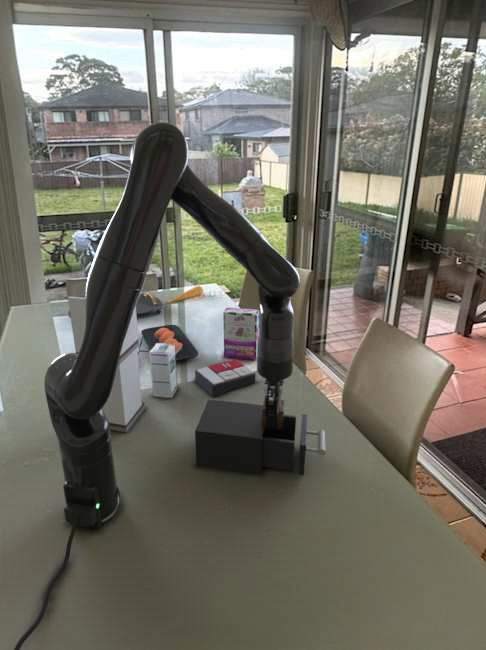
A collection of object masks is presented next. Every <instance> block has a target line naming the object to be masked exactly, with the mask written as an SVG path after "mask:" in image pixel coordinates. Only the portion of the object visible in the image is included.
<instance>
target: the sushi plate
mask: <svg viewBox="0 0 486 650" xmlns="http://www.w3.org/2000/svg"><path fill="white" fill-rule="evenodd" d="M141 336H142V337H141V340H140V342H139V351H138V352H137V353H138V355H140V353H149V352H150V351H151V349H152V348H153V347H154V346H155V345H156V343H167V344H173V345H175V358H176V362H179V361H184V360H188V359H189V360H190V359H193V358H196V357H198V356H199V351H198V350H197V348H196V347H195V346H194V344H193V343H192V342H191V340H190V339H189V338H188V337H187V335H186V334H185V333H184V331H183V330H182V329H181V328H180V327H179V326H178V325H176V324H165V325H160V326H154V327H153V326H152V327H148V328H144V329H142V330H141ZM143 340H144V341H145V343H146V345H147V347H148V348H149V350H142V349H141V347H142V343H143Z"/></svg>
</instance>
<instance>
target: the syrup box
mask: <svg viewBox="0 0 486 650" xmlns="http://www.w3.org/2000/svg"><path fill="white" fill-rule="evenodd" d="M149 351H150V352H148V355H149V365H150V377H151V385H152V386H151V388H152V396H153V397H157V398H166V399H172V398H173V396H174V395H175V393H176V391H177V389H178V374H177V372H178V371H177V361H176V358H175V345H173V344H167V343H156V345H155V346H154V347H153V348H152V349H151V350H149Z"/></svg>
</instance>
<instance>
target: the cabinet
mask: <svg viewBox="0 0 486 650" xmlns="http://www.w3.org/2000/svg"><path fill="white" fill-rule="evenodd" d="M262 408H263V404H256V403H255V404H254V403H246V402H236V401H229V400H228V401H226V400H217V399H207V401H206V404H205V406H204V408H203V411H202V413H201V416H200V418H199V420H198V422H197V424H196V428H195V430H194V439H195V440H194V441H195V465H196V467H199V468H200V467H201V468H206V469H207V468H208V469H215V470H222V471H229V472H237V473H245V474H252V475H258V476H259V475H260V476H261V475H262V470H263V467H262V466H261V465H262V438H263V433H264V427H262Z"/></svg>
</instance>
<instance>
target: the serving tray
mask: <svg viewBox="0 0 486 650" xmlns="http://www.w3.org/2000/svg"><path fill="white" fill-rule="evenodd" d="M163 306H164V304H163V302H162V300H161V299H160V298H158V297H156V296H155V295H154V294H153V293H152V292H150V291H148V292H146V293H142V292H141V293H140V296H139V298H138V301H137V304H136V316H137V315H142V314H147V313H152V312H155V313H156V314H157V315H161V313H162V310H163V309H164V307H163ZM67 312H68V317H69V318H70V319H71V316H70V309H68V311H67Z"/></svg>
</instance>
